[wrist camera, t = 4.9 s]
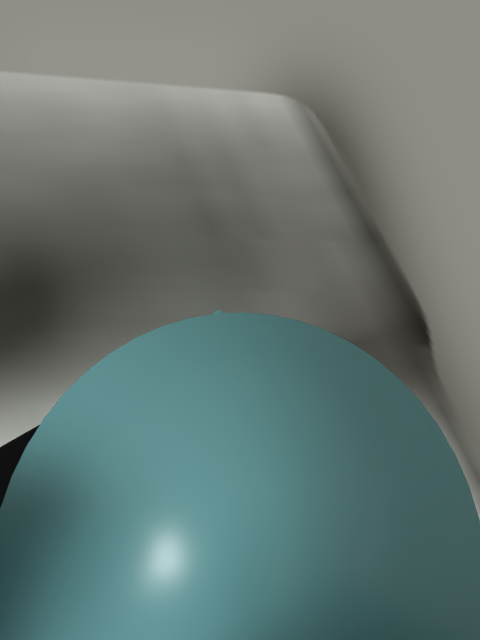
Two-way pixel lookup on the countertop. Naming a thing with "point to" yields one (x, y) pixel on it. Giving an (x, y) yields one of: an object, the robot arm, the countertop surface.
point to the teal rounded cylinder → (239, 498)
